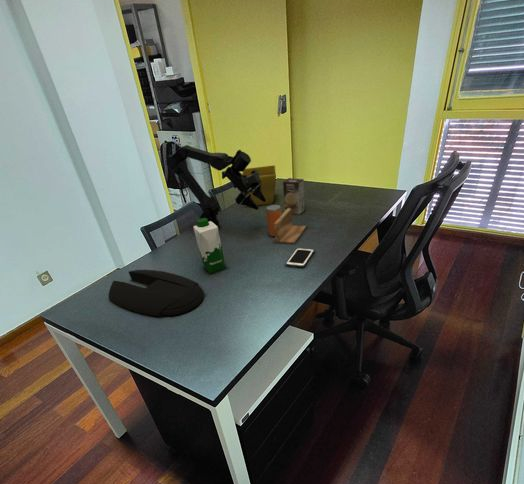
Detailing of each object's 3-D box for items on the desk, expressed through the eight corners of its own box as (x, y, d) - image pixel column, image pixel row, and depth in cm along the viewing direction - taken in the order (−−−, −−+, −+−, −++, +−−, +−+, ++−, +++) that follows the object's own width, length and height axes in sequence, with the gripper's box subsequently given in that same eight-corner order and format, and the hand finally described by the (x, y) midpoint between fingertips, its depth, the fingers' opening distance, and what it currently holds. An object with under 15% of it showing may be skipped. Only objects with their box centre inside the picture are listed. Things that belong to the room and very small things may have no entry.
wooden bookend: (275, 242, 151) (274, 223, 145) (288, 226, 163) (287, 208, 157) (294, 243, 148) (293, 224, 142) (306, 227, 160) (305, 208, 154)
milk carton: (220, 260, 143) (210, 215, 130) (228, 268, 137) (219, 221, 124) (201, 267, 141) (189, 221, 128) (209, 275, 134) (197, 228, 121)
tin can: (267, 236, 157) (264, 210, 149) (270, 231, 161) (267, 205, 153) (281, 236, 155) (279, 209, 147) (283, 230, 160) (281, 204, 152)
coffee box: (284, 213, 178) (282, 181, 167) (289, 208, 182) (288, 177, 171) (299, 214, 173) (298, 182, 163) (304, 210, 177) (304, 178, 167)
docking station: (174, 326, 110) (169, 315, 107) (99, 300, 129) (94, 289, 126) (219, 289, 125) (216, 277, 122) (146, 270, 144) (142, 260, 141)
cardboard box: (278, 205, 188) (275, 173, 177) (245, 209, 189) (240, 178, 179) (277, 194, 202) (275, 165, 192) (247, 198, 204) (242, 168, 193)
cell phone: (285, 266, 133) (285, 263, 132) (297, 249, 143) (297, 247, 142) (303, 268, 130) (303, 265, 129) (314, 251, 140) (314, 249, 139)
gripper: (238, 172, 137) (265, 201, 141) (255, 159, 149) (279, 186, 153) (224, 190, 145) (250, 217, 149) (242, 176, 157) (265, 201, 161)
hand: (261, 205), depth 153 cm, fingers open, 9 cm apart
